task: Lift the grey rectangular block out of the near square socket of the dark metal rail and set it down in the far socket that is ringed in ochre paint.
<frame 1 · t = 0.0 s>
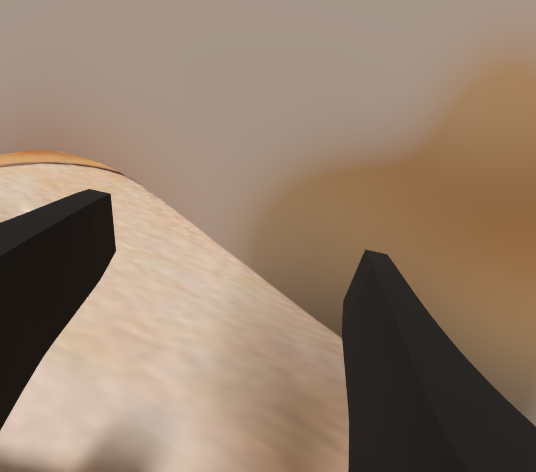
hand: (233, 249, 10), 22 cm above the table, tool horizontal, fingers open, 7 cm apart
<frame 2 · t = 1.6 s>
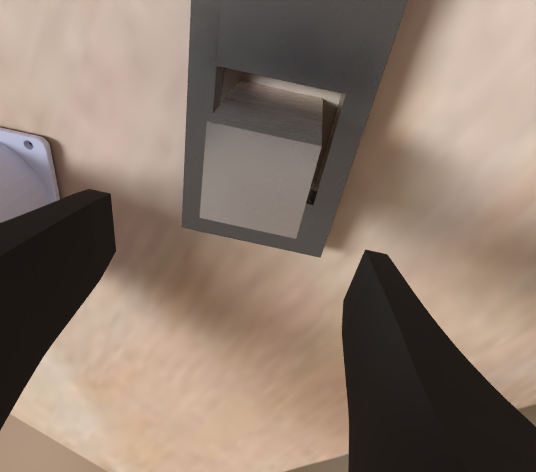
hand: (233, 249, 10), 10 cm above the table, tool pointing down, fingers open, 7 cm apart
grey rectangular block: (273, 130, 19), resting in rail
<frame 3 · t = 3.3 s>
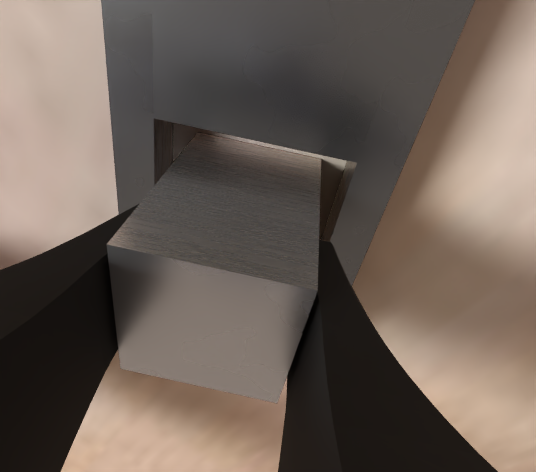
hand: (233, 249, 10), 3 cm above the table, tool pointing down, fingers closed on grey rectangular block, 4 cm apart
grey rectangular block: (250, 199, 13), resting in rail, touching gripper
when the fingers open (4 cm above the table, at t = 7.1 s): grey rectangular block stays where it is, resting in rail.
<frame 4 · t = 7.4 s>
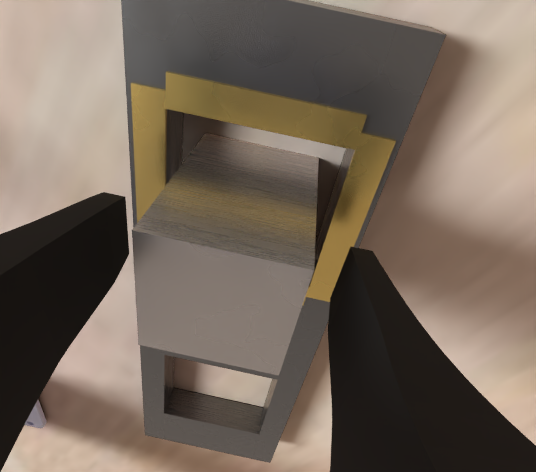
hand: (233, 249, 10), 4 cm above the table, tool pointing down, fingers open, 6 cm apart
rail: (235, 297, 17), on the table
grey rectangular block: (253, 194, 14), resting in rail
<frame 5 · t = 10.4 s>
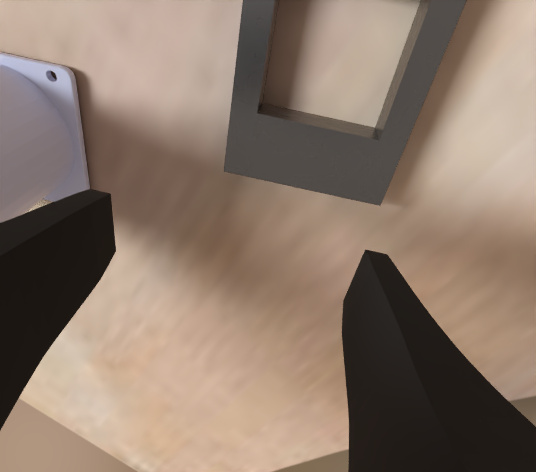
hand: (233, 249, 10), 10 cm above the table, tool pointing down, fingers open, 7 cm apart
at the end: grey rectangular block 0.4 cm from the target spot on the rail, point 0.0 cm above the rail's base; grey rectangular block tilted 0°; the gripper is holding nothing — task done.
